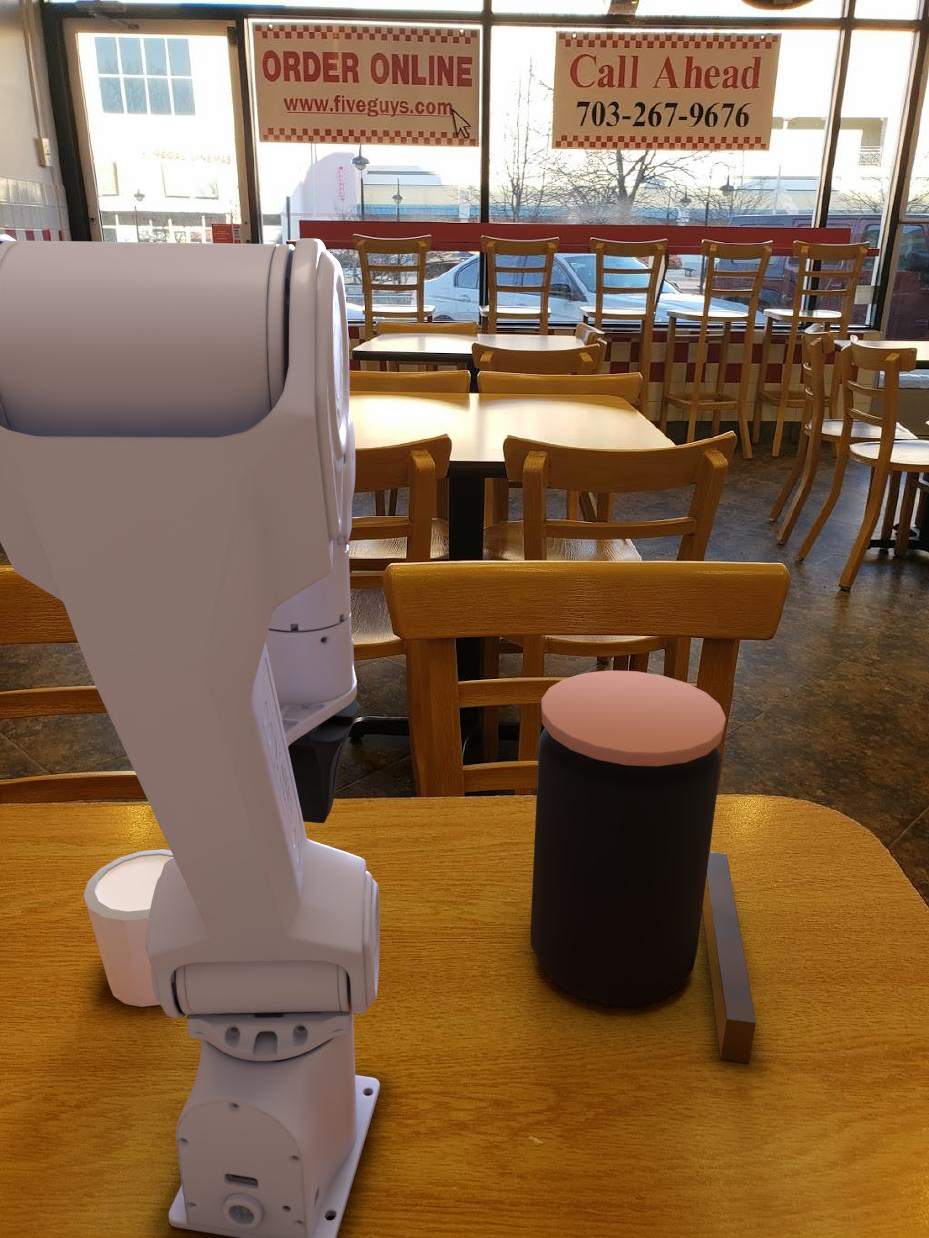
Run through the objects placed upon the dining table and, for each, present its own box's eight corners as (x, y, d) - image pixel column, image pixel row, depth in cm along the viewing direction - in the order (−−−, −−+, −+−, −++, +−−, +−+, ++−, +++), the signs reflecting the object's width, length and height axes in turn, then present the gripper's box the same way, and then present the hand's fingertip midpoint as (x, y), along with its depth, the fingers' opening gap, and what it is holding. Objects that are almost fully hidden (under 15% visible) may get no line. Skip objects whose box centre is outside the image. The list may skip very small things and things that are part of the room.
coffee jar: (693, 914, 65) (722, 678, 58) (696, 1030, 55) (731, 762, 49) (540, 892, 67) (552, 662, 60) (517, 1000, 57) (527, 740, 51)
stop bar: (749, 1063, 53) (756, 1022, 52) (720, 1059, 53) (726, 1018, 52) (722, 888, 68) (726, 853, 67) (699, 885, 68) (703, 850, 67)
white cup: (195, 1015, 56) (184, 920, 53) (80, 1012, 56) (63, 917, 53) (224, 937, 62) (216, 848, 60) (122, 935, 62) (108, 846, 60)
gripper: (277, 570, 61) (288, 753, 66) (180, 658, 48) (204, 879, 53) (382, 577, 60) (386, 762, 65) (314, 669, 47) (325, 893, 52)
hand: (311, 816), depth 59 cm, fingers closed
